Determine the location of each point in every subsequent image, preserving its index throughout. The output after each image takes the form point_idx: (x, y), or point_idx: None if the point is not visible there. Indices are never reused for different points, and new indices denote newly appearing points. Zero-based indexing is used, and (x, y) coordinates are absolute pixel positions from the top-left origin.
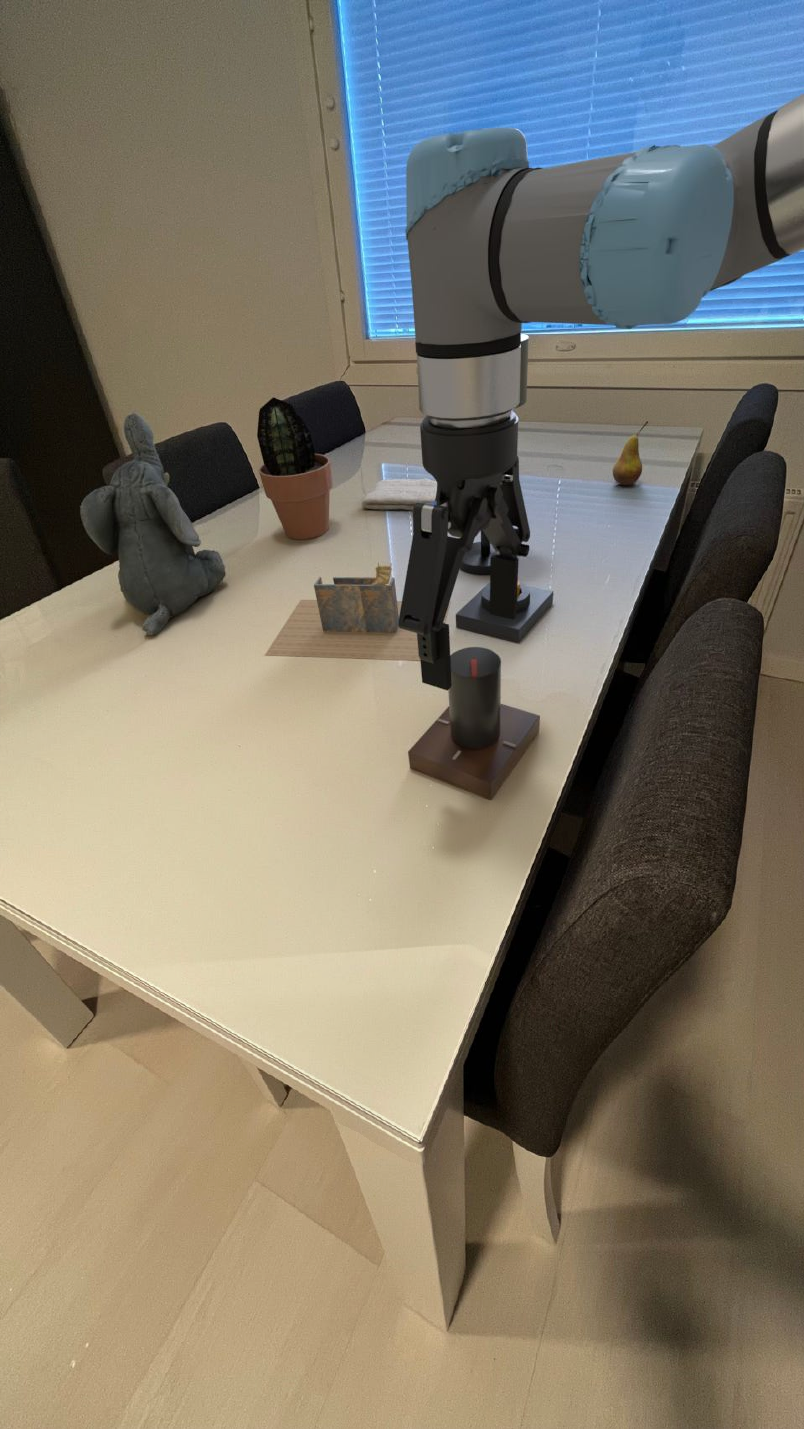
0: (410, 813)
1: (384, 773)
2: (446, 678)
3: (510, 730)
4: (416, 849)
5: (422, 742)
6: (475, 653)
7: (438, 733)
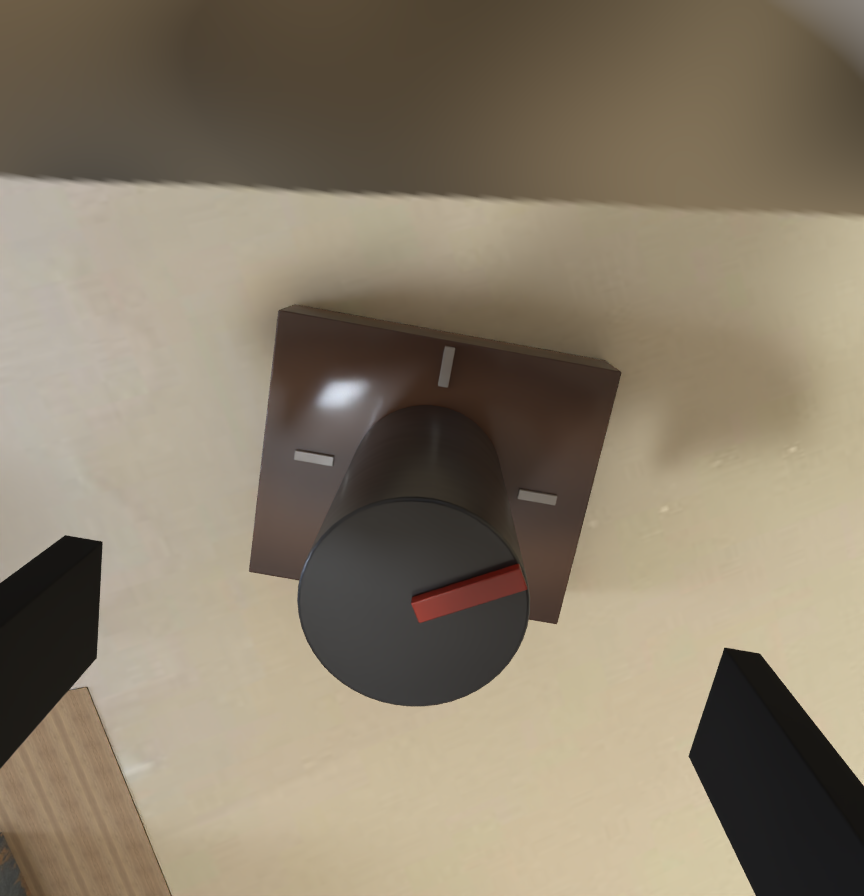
0: (698, 537)
1: (582, 643)
2: (790, 695)
3: (381, 380)
4: (806, 484)
5: None
6: (351, 617)
7: None
